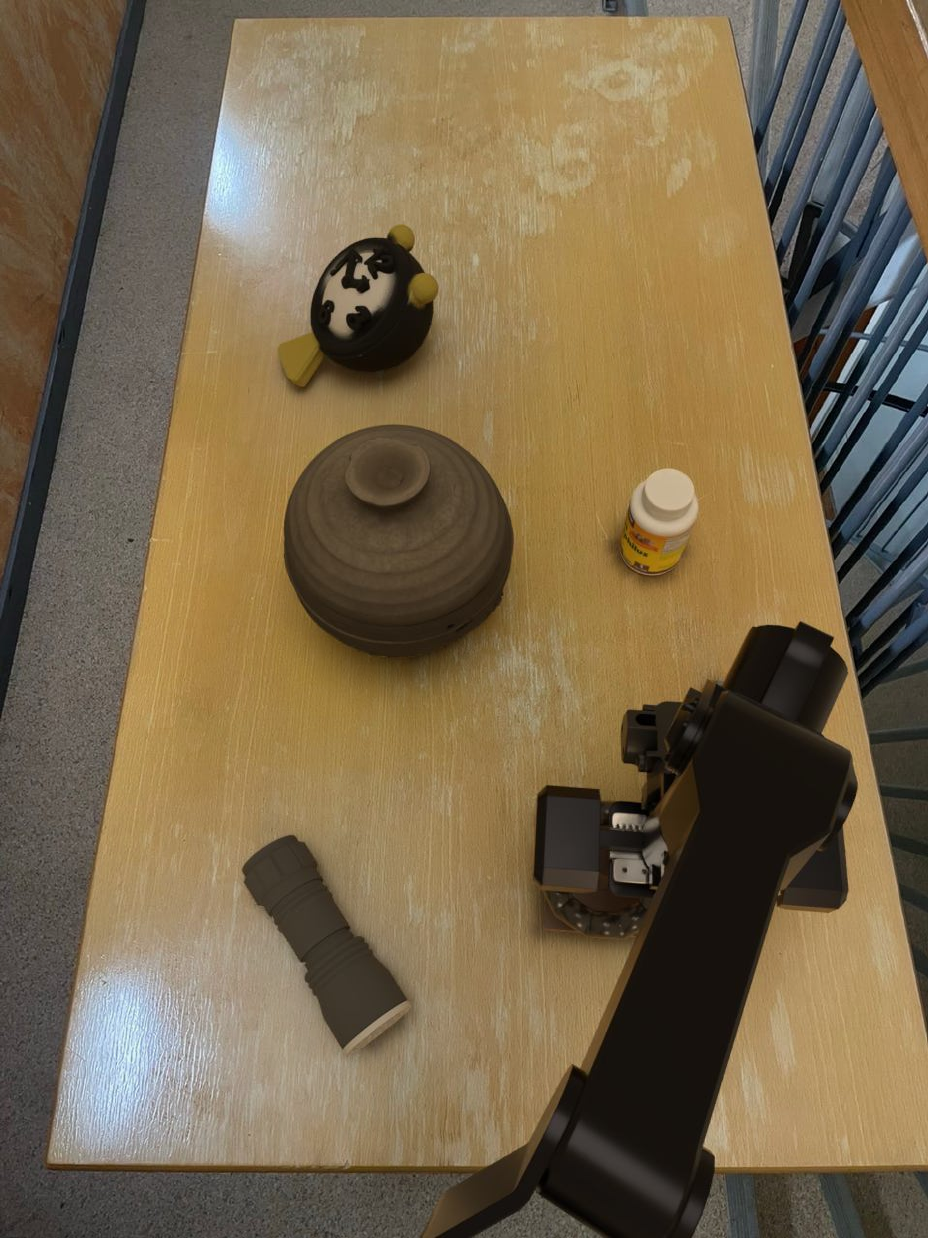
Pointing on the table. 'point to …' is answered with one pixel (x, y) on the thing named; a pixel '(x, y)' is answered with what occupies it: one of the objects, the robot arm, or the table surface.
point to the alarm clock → (366, 309)
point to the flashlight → (325, 944)
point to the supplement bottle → (658, 522)
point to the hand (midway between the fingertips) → (662, 871)
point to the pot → (397, 541)
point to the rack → (591, 899)
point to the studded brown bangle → (598, 921)
